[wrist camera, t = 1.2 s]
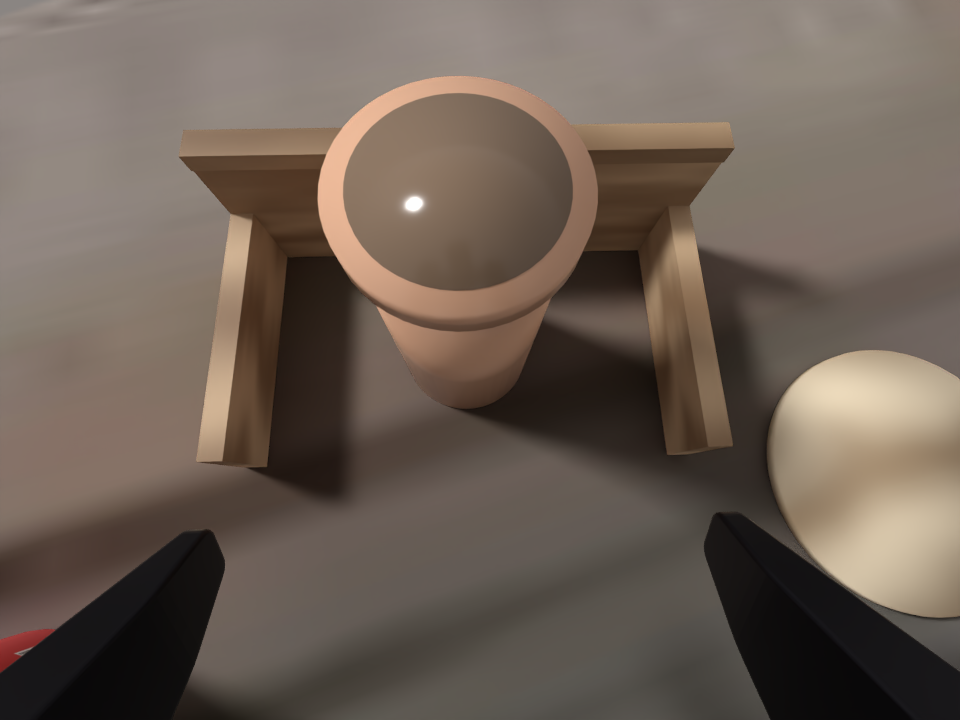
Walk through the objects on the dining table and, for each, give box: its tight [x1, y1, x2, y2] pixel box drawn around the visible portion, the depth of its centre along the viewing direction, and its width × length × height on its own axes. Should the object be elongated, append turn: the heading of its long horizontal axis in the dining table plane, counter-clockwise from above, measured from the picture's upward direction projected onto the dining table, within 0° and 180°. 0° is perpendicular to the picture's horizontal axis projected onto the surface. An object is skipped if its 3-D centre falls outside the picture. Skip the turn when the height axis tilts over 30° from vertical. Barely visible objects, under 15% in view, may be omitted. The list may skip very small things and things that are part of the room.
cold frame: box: [179, 122, 735, 468], centre depth 20 cm, size 12×21×8 cm, turn 92°
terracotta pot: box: [318, 76, 598, 409], centre depth 17 cm, size 7×7×13 cm
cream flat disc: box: [767, 350, 960, 618], centre depth 22 cm, size 12×12×1 cm
